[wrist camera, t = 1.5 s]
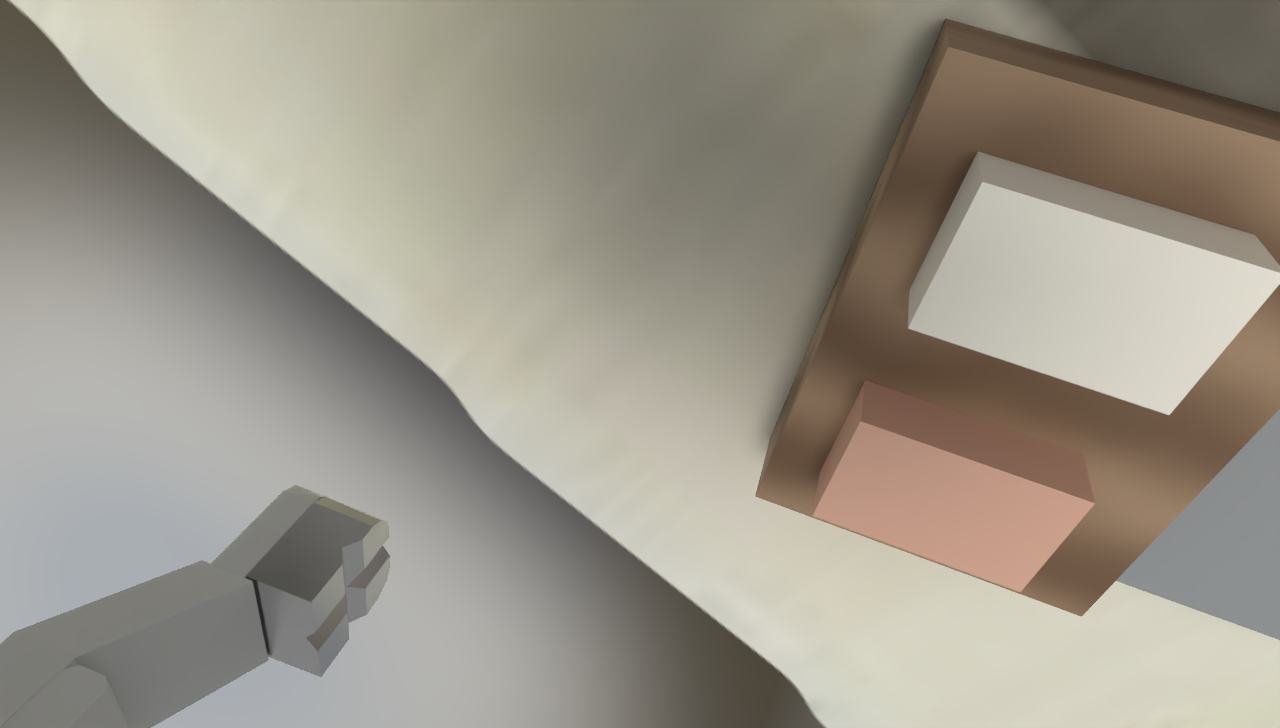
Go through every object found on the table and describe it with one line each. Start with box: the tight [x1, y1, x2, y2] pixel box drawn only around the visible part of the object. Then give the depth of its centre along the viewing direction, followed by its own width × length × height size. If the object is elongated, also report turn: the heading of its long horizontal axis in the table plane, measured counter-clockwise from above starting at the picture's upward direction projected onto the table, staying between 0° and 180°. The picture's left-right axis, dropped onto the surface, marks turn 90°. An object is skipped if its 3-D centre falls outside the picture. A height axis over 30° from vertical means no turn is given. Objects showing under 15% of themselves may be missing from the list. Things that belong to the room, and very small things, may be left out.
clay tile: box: [812, 380, 1095, 592], centre depth 28 cm, size 5×8×2 cm, turn 78°
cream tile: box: [908, 152, 1280, 415], centre depth 23 cm, size 5×8×2 cm, turn 78°
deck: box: [756, 19, 1280, 616], centre depth 28 cm, size 19×14×4 cm
